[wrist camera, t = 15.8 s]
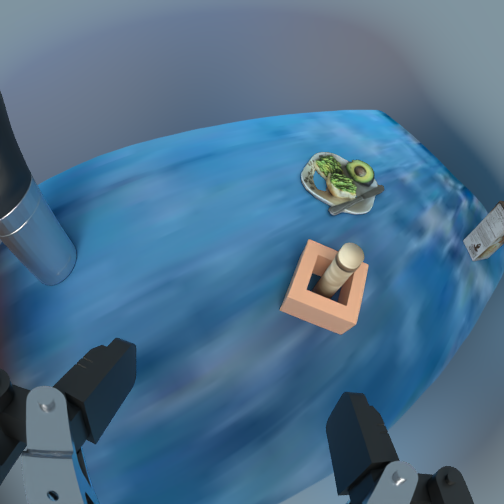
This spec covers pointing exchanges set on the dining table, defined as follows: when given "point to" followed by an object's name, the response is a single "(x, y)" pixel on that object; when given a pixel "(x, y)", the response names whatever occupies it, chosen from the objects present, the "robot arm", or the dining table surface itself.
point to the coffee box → (487, 234)
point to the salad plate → (342, 183)
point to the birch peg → (339, 270)
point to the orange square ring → (317, 306)
